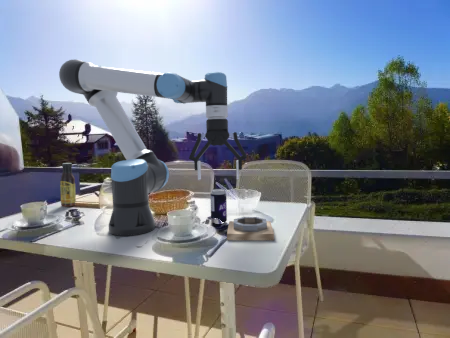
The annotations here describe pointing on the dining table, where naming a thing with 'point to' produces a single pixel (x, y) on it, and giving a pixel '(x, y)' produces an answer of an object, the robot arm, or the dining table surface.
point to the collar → (250, 224)
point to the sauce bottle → (67, 186)
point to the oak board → (250, 233)
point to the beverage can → (219, 204)
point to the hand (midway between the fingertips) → (218, 179)
